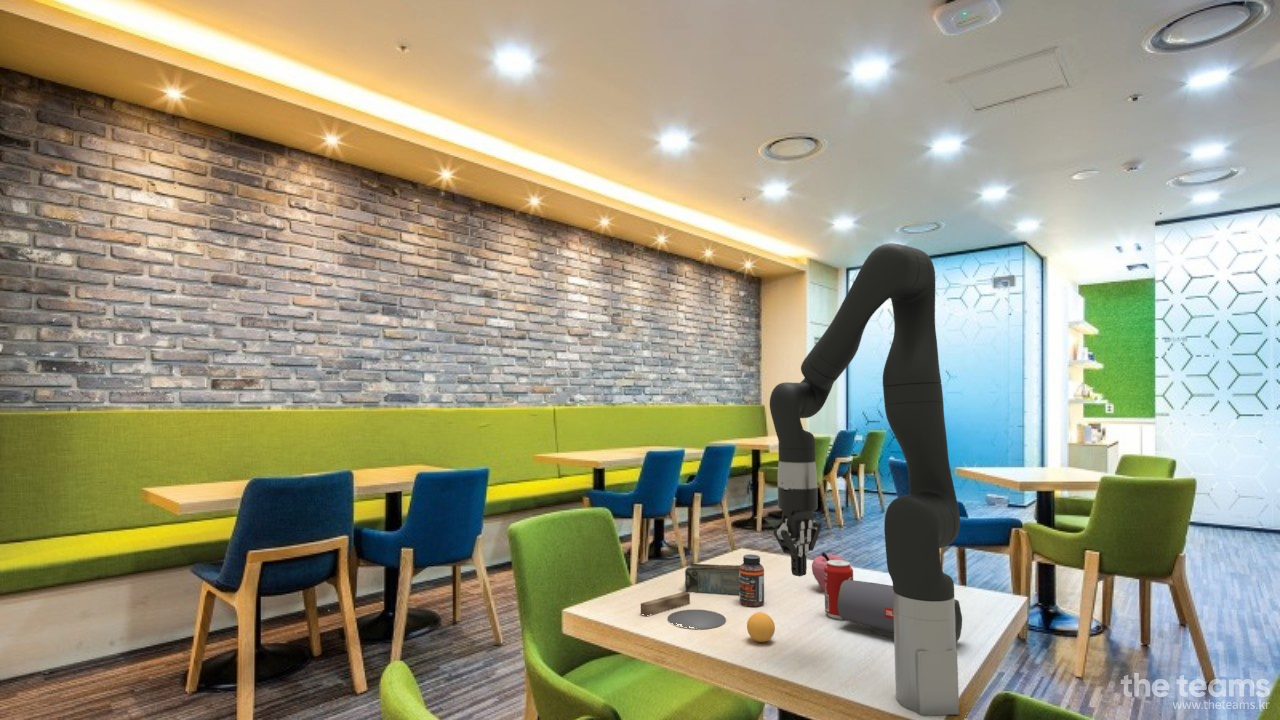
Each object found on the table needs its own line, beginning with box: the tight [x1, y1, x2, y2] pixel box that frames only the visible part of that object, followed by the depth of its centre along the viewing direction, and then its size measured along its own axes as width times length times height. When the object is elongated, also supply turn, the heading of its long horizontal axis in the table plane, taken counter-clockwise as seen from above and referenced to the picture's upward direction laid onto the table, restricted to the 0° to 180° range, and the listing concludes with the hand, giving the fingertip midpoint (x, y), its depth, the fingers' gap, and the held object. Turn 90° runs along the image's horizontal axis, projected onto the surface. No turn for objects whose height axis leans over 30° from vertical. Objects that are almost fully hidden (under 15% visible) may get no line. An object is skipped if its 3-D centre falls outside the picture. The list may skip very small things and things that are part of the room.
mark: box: [667, 609, 727, 630], centre depth 147 cm, size 13×13×1 cm
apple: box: [811, 551, 845, 592], centre depth 169 cm, size 10×9×10 cm
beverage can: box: [824, 560, 854, 621], centre depth 149 cm, size 6×6×12 cm
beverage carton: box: [684, 563, 741, 596], centre depth 170 cm, size 8×19×7 cm, turn 77°
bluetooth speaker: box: [837, 579, 963, 643], centre depth 137 cm, size 23×9×10 cm, turn 49°
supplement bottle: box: [738, 554, 765, 608], centre depth 159 cm, size 6×6×11 cm
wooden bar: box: [640, 591, 691, 617], centre depth 155 cm, size 14×2×2 cm, turn 131°
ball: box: [746, 612, 776, 643], centre depth 134 cm, size 6×6×6 cm
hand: (799, 575), depth 127 cm, fingers closed
